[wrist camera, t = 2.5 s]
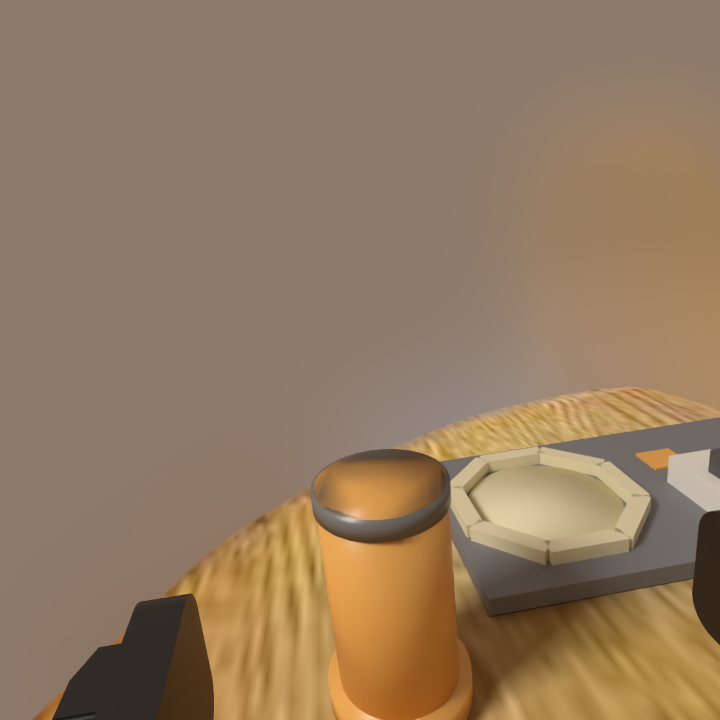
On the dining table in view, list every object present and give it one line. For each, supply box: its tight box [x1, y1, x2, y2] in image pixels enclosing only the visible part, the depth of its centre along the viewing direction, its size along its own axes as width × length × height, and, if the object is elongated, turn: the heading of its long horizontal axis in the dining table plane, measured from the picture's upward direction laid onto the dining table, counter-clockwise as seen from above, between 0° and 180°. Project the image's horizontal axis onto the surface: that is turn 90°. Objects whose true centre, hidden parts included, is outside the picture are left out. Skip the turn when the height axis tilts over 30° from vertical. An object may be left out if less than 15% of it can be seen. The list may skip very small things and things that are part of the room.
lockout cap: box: [310, 449, 473, 720], centre depth 22 cm, size 6×6×10 cm
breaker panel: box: [440, 418, 720, 616], centre depth 34 cm, size 24×14×4 cm, turn 98°
